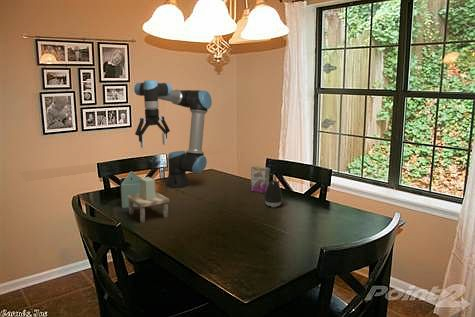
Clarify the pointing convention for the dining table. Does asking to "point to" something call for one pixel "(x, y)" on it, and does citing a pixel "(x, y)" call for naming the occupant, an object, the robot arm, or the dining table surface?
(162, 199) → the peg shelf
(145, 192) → the sage block
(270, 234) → the dining table surface
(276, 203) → the dark grey cone
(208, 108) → the robot arm
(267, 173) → the candy bar box
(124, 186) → the teal gabled house
